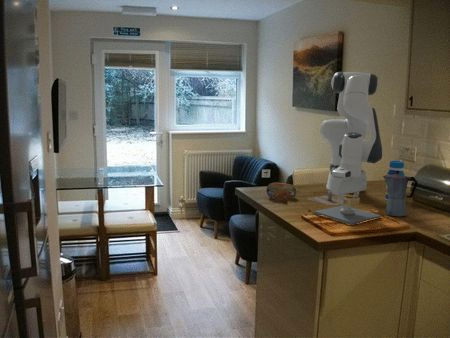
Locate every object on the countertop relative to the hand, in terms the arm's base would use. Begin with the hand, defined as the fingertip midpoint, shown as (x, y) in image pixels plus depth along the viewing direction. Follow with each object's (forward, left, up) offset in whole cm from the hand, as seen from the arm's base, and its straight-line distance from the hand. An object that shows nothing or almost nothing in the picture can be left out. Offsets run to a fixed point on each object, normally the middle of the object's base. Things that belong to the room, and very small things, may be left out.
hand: (348, 202), depth 191 cm
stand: (-12, -20, -6) cm, 24 cm away
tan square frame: (0, 0, -1) cm, 0 cm away
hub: (0, 0, -6) cm, 6 cm away
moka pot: (-22, +10, -7) cm, 25 cm away
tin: (+3, -38, -7) cm, 39 cm away
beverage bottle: (-46, -7, -7) cm, 47 cm away
